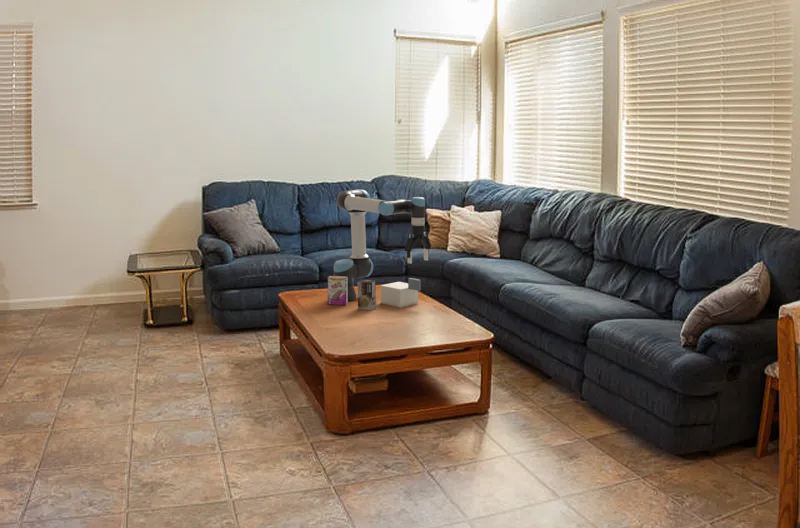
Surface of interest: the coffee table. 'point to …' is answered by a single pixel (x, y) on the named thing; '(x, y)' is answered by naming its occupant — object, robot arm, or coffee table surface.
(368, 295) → the coffee box
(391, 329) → the coffee table surface
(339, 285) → the candy bar box
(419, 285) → the flap
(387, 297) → the carton
